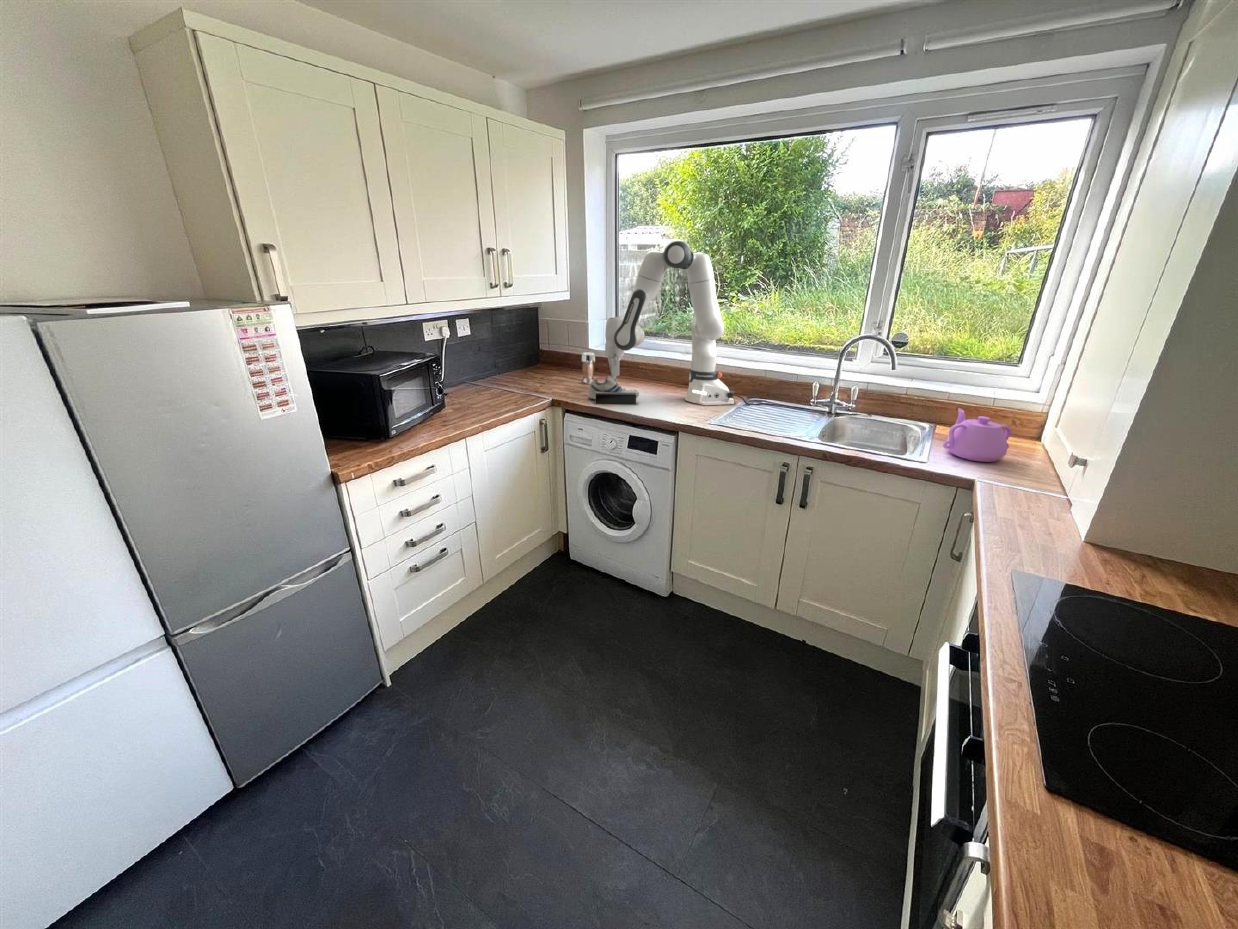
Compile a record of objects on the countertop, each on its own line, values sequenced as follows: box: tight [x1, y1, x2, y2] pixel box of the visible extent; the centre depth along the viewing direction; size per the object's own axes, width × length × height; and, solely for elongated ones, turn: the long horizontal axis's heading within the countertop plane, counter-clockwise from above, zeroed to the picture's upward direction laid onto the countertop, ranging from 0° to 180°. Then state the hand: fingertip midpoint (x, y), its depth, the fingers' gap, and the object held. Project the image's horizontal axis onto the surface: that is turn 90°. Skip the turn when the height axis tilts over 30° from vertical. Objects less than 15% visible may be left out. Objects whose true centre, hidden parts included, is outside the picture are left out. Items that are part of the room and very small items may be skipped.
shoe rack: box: [595, 392, 637, 405], centre depth 221 cm, size 18×2×5 cm, turn 94°
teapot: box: [942, 407, 1012, 463], centre depth 170 cm, size 22×22×14 cm
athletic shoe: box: [587, 375, 640, 401], centre depth 227 cm, size 10×23×12 cm, turn 89°
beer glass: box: [581, 352, 596, 385], centre depth 258 cm, size 7×7×15 cm
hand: (613, 381), depth 238 cm, fingers closed
